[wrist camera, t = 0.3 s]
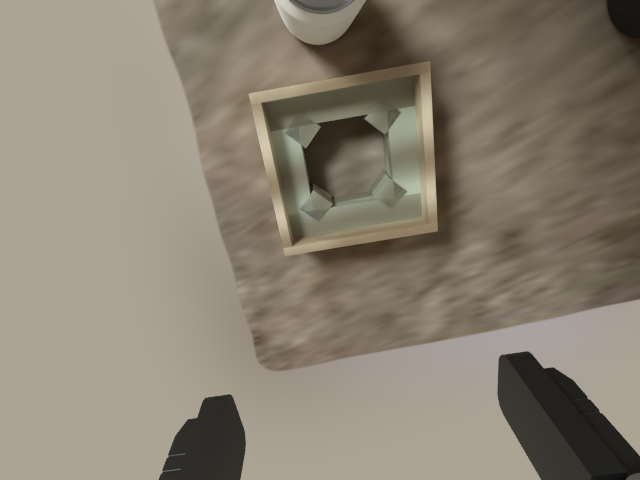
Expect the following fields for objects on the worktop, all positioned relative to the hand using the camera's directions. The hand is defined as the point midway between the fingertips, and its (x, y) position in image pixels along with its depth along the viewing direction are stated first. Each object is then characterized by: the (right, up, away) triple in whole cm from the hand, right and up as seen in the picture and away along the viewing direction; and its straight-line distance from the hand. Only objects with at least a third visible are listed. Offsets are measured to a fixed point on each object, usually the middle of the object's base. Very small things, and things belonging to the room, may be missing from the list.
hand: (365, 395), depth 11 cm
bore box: (+1, +13, +24) cm, 27 cm away
